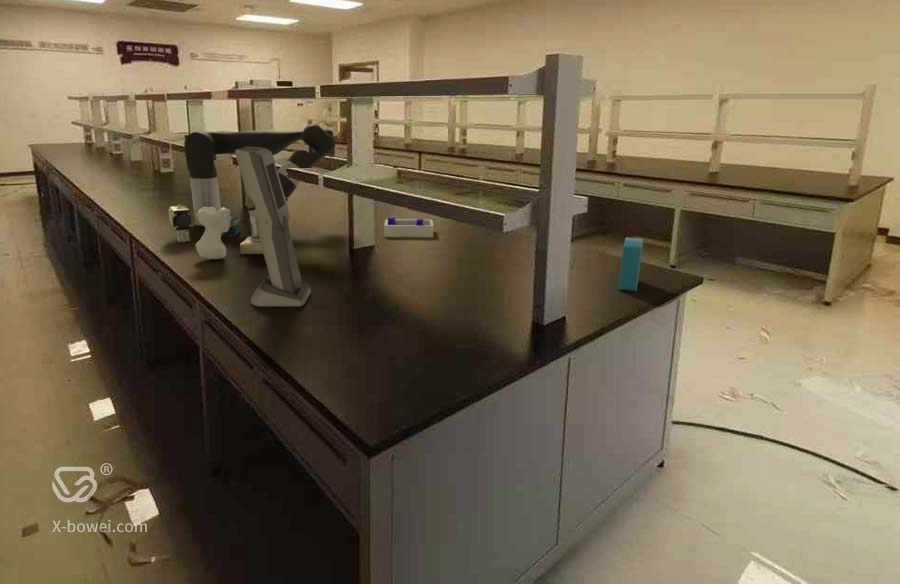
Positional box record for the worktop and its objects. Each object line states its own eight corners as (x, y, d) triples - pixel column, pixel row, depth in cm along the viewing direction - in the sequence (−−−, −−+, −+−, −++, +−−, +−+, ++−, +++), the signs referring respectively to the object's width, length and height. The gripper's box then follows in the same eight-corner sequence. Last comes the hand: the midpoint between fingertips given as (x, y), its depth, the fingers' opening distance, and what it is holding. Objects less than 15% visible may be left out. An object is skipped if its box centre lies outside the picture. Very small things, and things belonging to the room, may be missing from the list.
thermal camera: (259, 291, 143) (246, 145, 132) (312, 291, 144) (304, 146, 133) (246, 307, 132) (231, 150, 121) (303, 307, 133) (293, 151, 122)
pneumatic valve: (188, 236, 196) (184, 201, 192) (194, 244, 186) (190, 207, 182) (170, 238, 193) (165, 202, 189) (175, 246, 183) (170, 208, 180)
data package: (621, 278, 160) (626, 236, 157) (638, 280, 159) (643, 237, 155) (617, 291, 150) (623, 245, 146) (636, 293, 148) (642, 247, 144)
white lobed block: (190, 261, 167) (184, 209, 162) (219, 252, 177) (213, 203, 172) (217, 265, 164) (211, 212, 159) (244, 256, 174) (239, 206, 169)
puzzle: (241, 233, 203) (239, 216, 201) (233, 237, 197) (231, 219, 195) (224, 232, 203) (222, 215, 201) (216, 236, 198) (214, 219, 196)
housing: (253, 237, 183) (249, 199, 179) (273, 237, 184) (270, 199, 180) (248, 242, 177) (244, 202, 174) (269, 242, 178) (265, 202, 174)
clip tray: (385, 230, 212) (385, 219, 211) (432, 230, 213) (432, 219, 212) (384, 237, 202) (384, 225, 200) (433, 237, 203) (433, 226, 202)
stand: (249, 245, 186) (248, 236, 185) (281, 246, 186) (280, 236, 185) (240, 253, 176) (239, 243, 175) (274, 253, 177) (273, 243, 176)
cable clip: (424, 234, 208) (424, 217, 206) (420, 237, 203) (421, 220, 202) (391, 232, 210) (391, 215, 208) (388, 234, 206) (387, 218, 204)
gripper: (306, 190, 178) (273, 231, 175) (285, 184, 189) (254, 223, 185) (289, 173, 173) (255, 216, 170) (268, 168, 184) (236, 208, 180)
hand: (254, 220), depth 177 cm, fingers open, 8 cm apart
